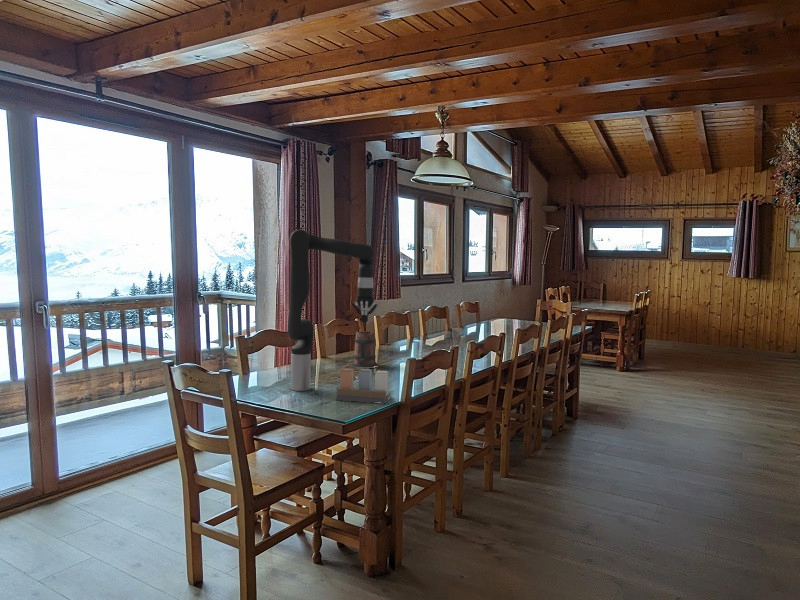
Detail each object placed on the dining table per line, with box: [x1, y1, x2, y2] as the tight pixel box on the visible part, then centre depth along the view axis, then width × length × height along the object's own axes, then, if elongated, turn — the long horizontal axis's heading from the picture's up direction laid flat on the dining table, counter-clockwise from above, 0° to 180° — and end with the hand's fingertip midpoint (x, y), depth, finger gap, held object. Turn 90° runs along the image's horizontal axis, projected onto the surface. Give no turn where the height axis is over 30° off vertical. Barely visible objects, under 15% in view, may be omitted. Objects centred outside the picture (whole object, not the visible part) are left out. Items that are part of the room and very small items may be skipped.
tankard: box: [350, 331, 378, 367], centre depth 314 cm, size 24×17×20 cm
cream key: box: [374, 370, 389, 396], centre depth 242 cm, size 4×5×11 cm
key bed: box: [335, 387, 391, 404], centre depth 244 cm, size 12×22×5 cm, turn 79°
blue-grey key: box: [358, 369, 373, 390], centre depth 245 cm, size 4×5×11 cm
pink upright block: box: [339, 367, 355, 389], centre depth 245 cm, size 4×5×11 cm
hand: (364, 322), depth 262 cm, fingers closed
